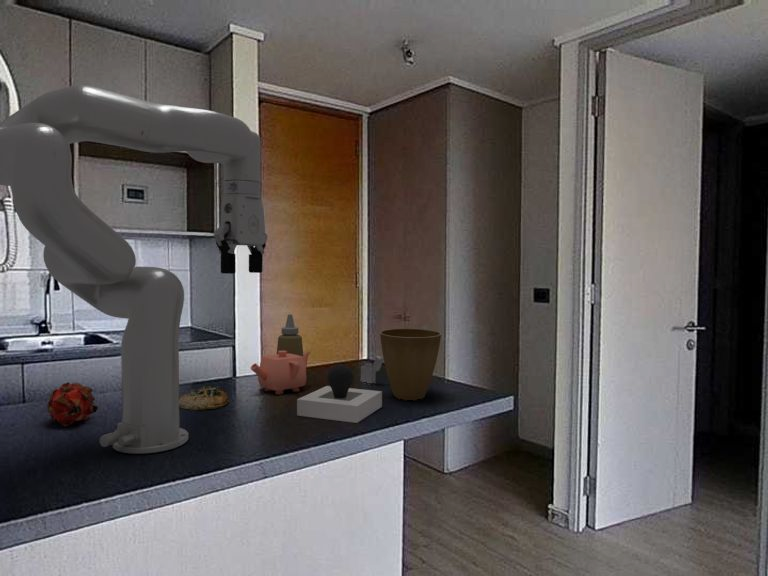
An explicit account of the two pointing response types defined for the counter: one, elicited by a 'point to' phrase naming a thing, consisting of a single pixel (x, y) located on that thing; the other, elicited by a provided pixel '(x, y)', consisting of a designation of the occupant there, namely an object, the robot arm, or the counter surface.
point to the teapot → (282, 371)
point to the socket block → (339, 404)
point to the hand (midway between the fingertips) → (242, 273)
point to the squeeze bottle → (290, 339)
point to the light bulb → (340, 380)
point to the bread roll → (204, 399)
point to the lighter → (371, 370)
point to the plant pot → (410, 360)
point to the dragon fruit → (71, 403)
